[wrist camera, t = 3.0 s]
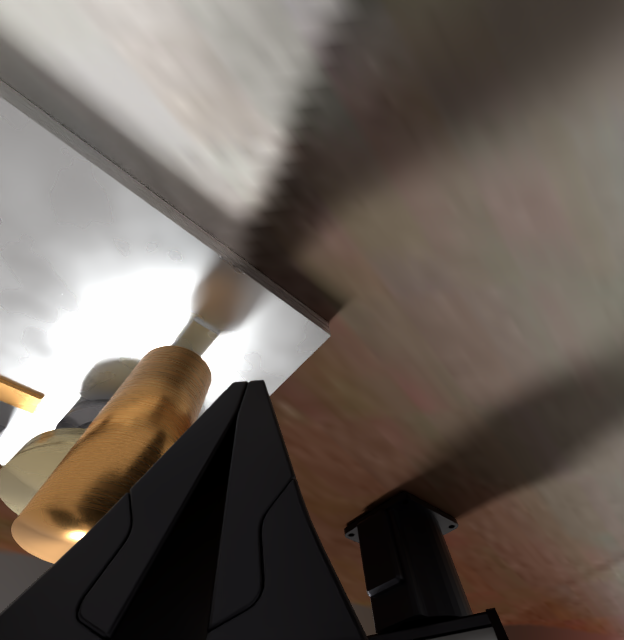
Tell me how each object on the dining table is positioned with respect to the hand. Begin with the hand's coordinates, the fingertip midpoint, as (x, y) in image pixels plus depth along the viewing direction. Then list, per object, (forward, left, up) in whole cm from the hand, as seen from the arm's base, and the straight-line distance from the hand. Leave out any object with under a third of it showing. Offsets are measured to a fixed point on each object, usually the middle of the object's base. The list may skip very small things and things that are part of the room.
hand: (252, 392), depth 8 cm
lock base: (+5, +8, -6) cm, 11 cm away
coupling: (+2, +8, -3) cm, 9 cm away
